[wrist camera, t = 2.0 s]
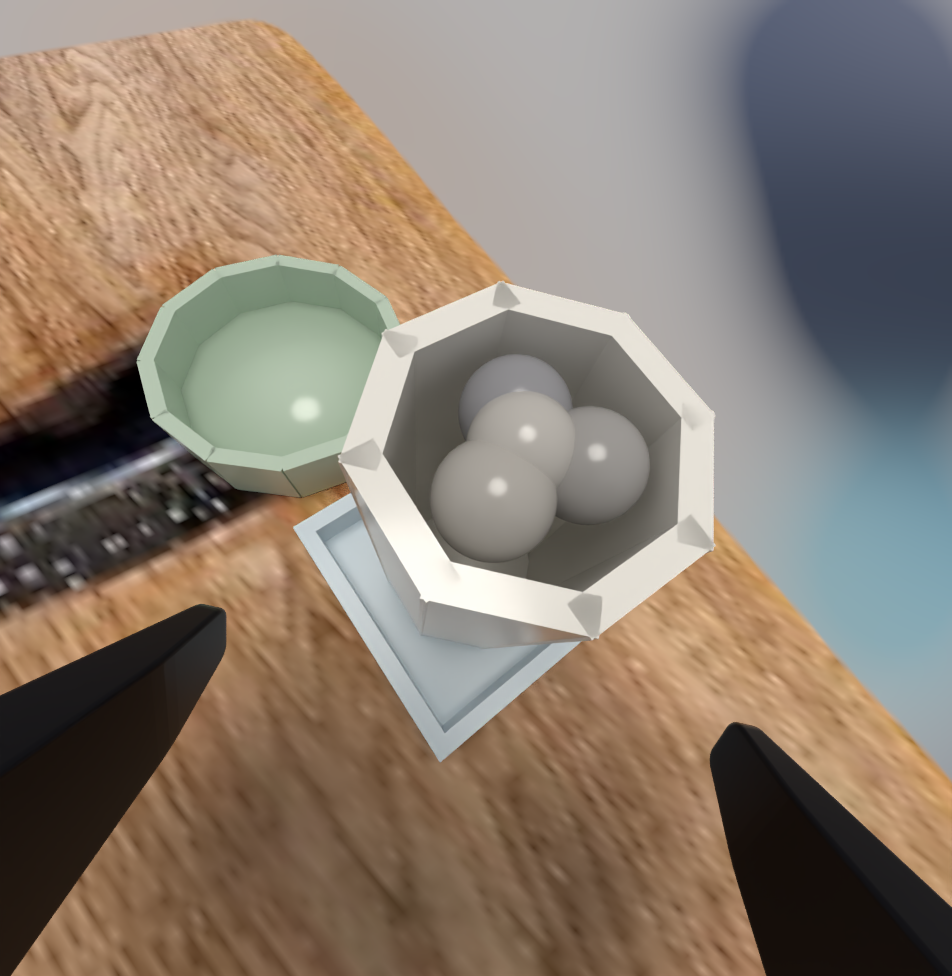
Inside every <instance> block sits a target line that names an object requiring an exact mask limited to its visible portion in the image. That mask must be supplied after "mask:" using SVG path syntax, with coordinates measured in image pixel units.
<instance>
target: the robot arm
mask: <svg viewBox="0 0 952 976" xmlns="http://www.w3.org/2000/svg"><path fill="white" fill-rule="evenodd" d="M225 649H226V612H225V610H224V609H222V608H219V607H214V606H210V605H205V604H199V605H195V606H193V607H191V608H189V609H186V610H184V611H182V612H180V613H178V614H176V615H173V616H171V617H169V618H167V619H165V620H163V621H160V622H158V623H156V624H154V625H152V626H150V627H147V628H145V629H143V630H141V631H139V632H137V633H134V634H132V635H130V636H128V637H126V638H124V639H121V640H119V641H117V642H115V643H113V644H111V645H108V646H106V647H104V648H102V649H100V650H98V651H95V652H93V653H91V654H89V655H87V656H85V657H82V658H80V659H78V660H76V661H74V662H72V663H69V664H67V665H65V666H63V667H61V668H59V669H56V670H54V671H52V672H50V673H48V674H46V675H44V676H41V677H39V678H37V679H35V680H33V681H31V682H28V683H26V684H24V685H22V686H20V687H18V688H15V689H13V690H11V691H9V692H7V693H5V694H2V695H0V976H11V975H12V973H13V972H14V970H15V969H16V967H17V966H18V965H19V963H20V962H21V960H22V959H23V958H24V956H25V955H26V953H27V952H28V950H29V949H30V948H31V946H32V945H33V943H34V942H35V940H36V939H37V938H38V936H39V935H40V933H41V932H42V931H43V929H44V928H45V926H46V925H47V923H48V922H49V921H50V919H51V918H52V916H53V915H54V913H55V912H56V911H57V909H58V908H59V906H60V905H61V904H62V902H63V901H64V899H65V898H66V896H67V895H68V894H69V892H70V891H71V889H72V888H73V886H74V885H75V884H76V882H77V881H78V879H79V878H80V877H81V875H82V874H83V872H84V871H85V869H86V868H87V867H88V865H89V864H90V862H91V861H92V859H93V858H94V857H95V855H96V854H97V852H98V851H99V850H100V848H101V847H102V845H103V844H104V842H105V841H106V840H107V838H108V837H109V835H110V834H111V833H112V831H113V830H114V828H115V827H116V825H117V824H118V823H119V821H120V820H121V818H122V817H123V815H124V814H125V813H126V811H127V810H128V808H129V807H130V806H131V804H132V803H133V801H134V800H135V798H136V797H137V796H138V794H139V793H140V791H141V790H142V788H143V787H144V786H145V784H146V783H147V781H148V780H149V779H150V777H151V776H152V774H153V773H154V771H155V770H156V769H157V767H158V766H159V764H160V763H161V761H162V760H163V758H164V757H165V755H166V754H167V752H168V751H169V749H170V748H171V746H172V745H173V743H174V741H175V740H176V738H177V736H178V735H179V733H180V731H181V729H182V728H183V726H184V724H185V722H186V721H187V719H188V717H189V715H190V714H191V712H192V710H193V708H194V707H195V705H196V703H197V701H198V700H199V698H200V696H201V694H202V693H203V691H204V689H205V687H206V686H207V684H208V682H209V680H210V679H211V677H212V675H213V673H214V672H215V670H216V668H217V666H218V665H219V663H220V661H221V659H222V657H223V655H224V652H225ZM710 767H711V772H712V777H713V781H714V786H715V790H716V795H717V799H718V804H719V808H720V813H721V817H722V822H723V827H724V831H725V836H726V840H727V845H728V849H729V853H730V857H731V861H732V865H733V869H734V872H735V876H736V879H737V883H738V886H739V889H740V892H741V896H742V899H743V902H744V905H745V909H746V912H747V915H748V918H749V922H750V925H751V928H752V931H753V935H754V938H755V941H756V944H757V948H758V951H759V954H760V957H761V961H762V964H763V967H764V970H765V973H766V976H952V907H951V906H950V905H949V904H948V903H946V902H945V901H944V900H943V899H942V898H941V897H940V896H939V895H938V894H937V893H936V892H935V891H934V890H933V889H931V888H930V887H929V886H928V885H927V884H926V883H925V882H924V881H923V880H922V879H921V878H920V877H919V876H917V875H916V874H915V873H914V872H913V871H912V870H911V869H910V868H909V867H908V866H907V865H906V864H905V863H903V862H902V861H901V860H900V859H899V858H898V857H897V856H896V855H895V854H894V853H893V852H892V851H891V850H890V849H888V848H887V847H886V846H885V845H884V844H883V843H882V842H881V841H880V840H879V839H878V838H877V837H876V836H874V835H873V834H872V833H871V832H870V831H869V830H868V829H867V828H866V827H865V826H864V825H863V824H862V823H860V822H859V821H858V820H857V819H856V818H855V817H854V816H853V815H852V814H851V813H850V812H849V811H848V810H847V809H845V808H844V807H843V806H842V805H841V804H840V803H839V802H838V801H837V800H836V799H835V798H834V797H833V796H831V795H830V794H829V793H828V792H827V791H826V790H825V789H824V788H823V787H822V786H821V785H820V784H819V783H817V782H816V781H815V780H814V779H813V778H812V777H811V776H810V775H809V774H808V773H807V772H806V771H805V770H804V769H802V768H801V767H800V766H799V765H798V764H797V763H796V762H795V761H794V760H793V759H792V758H791V757H790V756H788V755H787V754H786V753H785V752H784V751H783V750H782V749H781V748H780V747H779V746H778V745H777V744H776V743H775V742H773V741H772V740H771V739H770V738H769V737H768V736H767V735H766V734H765V733H764V732H763V731H762V730H760V729H759V728H757V727H755V726H752V725H747V724H743V723H738V722H733V723H731V724H729V725H728V726H727V728H726V729H725V731H724V732H723V734H722V735H721V737H720V738H719V740H718V741H717V743H716V744H715V746H714V747H713V749H712V750H711V754H710Z"/></svg>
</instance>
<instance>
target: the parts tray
mask: <svg viewBox="0 0 952 976" xmlns="http://www.w3.org/2000/svg"><path fill="white" fill-rule="evenodd" d="M293 528H294V530H295V532H296V533H297V535H298V536H299V538H300V540H301V541H302V543H303V544H304V546H305V548H306V549H307V551H308V552H309V554H310V556H311V557H312V559H313V560H314V562H315V564H316V565H317V567H318V568H319V570H320V572H321V573H322V575H323V576H324V578H325V580H326V581H327V583H328V584H329V586H330V588H331V589H332V591H333V592H334V594H335V596H336V597H337V599H338V600H339V602H340V604H341V605H342V607H343V608H344V610H345V612H346V613H347V615H348V616H349V618H350V620H351V621H352V623H353V624H354V626H355V627H356V629H357V631H358V632H359V634H360V635H361V637H362V639H363V640H364V642H365V643H366V645H367V647H368V648H369V650H370V651H371V653H372V655H373V656H374V658H375V659H376V661H377V663H378V664H379V666H380V667H381V669H382V671H383V672H384V674H385V675H386V677H387V679H388V680H389V682H390V683H391V685H392V687H393V688H394V690H395V691H396V693H397V695H398V696H399V698H400V699H401V701H402V703H403V704H404V706H405V707H406V709H407V711H408V712H409V714H410V715H411V717H412V719H413V720H414V722H415V723H416V725H417V727H418V728H419V730H420V731H421V733H422V735H423V736H424V738H425V739H426V741H427V743H428V744H429V746H430V747H431V749H432V751H433V752H434V754H435V755H436V757H437V759H438V760H439V762H441V761H442V760H444V759H445V758H446V757H447V756H448V755H449V754H451V753H452V752H453V751H454V750H455V749H456V748H458V747H459V746H460V745H461V744H462V743H463V742H465V741H466V740H467V739H468V738H469V737H470V736H472V735H473V734H474V733H475V732H476V731H477V730H479V729H480V728H481V727H482V726H483V725H484V724H486V723H487V722H488V721H489V720H490V719H491V718H493V717H494V716H495V715H496V714H497V713H498V712H500V711H501V710H502V709H503V708H504V707H505V706H507V705H508V704H509V703H510V702H511V701H512V700H514V699H515V698H516V697H517V696H518V695H519V694H521V693H522V692H523V691H524V690H525V689H526V688H528V687H529V686H530V685H531V684H532V683H533V682H535V681H536V680H537V679H538V678H539V677H540V676H542V675H543V674H544V673H545V672H546V671H547V670H549V669H550V668H551V667H552V666H553V665H554V664H556V663H557V662H558V661H559V660H560V659H561V658H563V657H564V656H565V655H566V654H567V653H568V652H570V651H571V650H572V649H573V648H574V647H575V646H577V645H578V644H579V643H580V642H581V641H578V642H565V643H552V644H540V645H527V646H514V647H502V648H489V649H481V648H479V647H474V646H470V645H465V644H461V643H456V642H452V641H447V640H443V639H438V638H434V637H429V636H425V635H422V636H421V635H420V634H419V631H418V630H417V628H416V626H415V624H414V623H413V621H412V619H411V618H410V616H409V614H408V612H407V611H406V609H405V607H404V606H403V604H402V602H401V601H400V599H399V597H398V595H397V594H396V592H395V590H394V589H393V587H392V585H391V583H390V582H388V580H387V578H386V575H385V573H384V570H383V568H382V566H381V563H380V561H379V558H378V556H377V554H376V551H375V549H374V547H373V544H372V542H371V539H370V537H369V535H368V532H367V530H366V528H365V525H364V523H363V520H362V518H361V516H360V513H359V511H358V508H357V506H356V504H355V501H354V499H353V497H352V494H351V493H350V494H348V495H346V496H345V497H343V498H341V499H339V500H338V501H336V502H334V503H333V504H331V505H329V506H328V507H326V508H324V509H323V510H321V511H319V512H318V513H316V514H314V515H313V516H311V517H309V518H307V519H306V520H304V521H302V522H301V523H299V524H297V525H296V526H294V527H293Z"/></svg>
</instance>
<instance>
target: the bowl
mask: <svg viewBox="0 0 952 976" xmlns="http://www.w3.org/2000/svg"><path fill="white" fill-rule="evenodd" d="M162 306H163V307H161V308H160V310H159V312H158V314H157V316H156V319H155V321H154V323H153V325H152V327H151V330H150V332H149V334H148V336H147V339H146V341H145V343H144V345H143V347H142V350H141V352H140V354H139V356H138V358H137V365H138V369H139V373H140V377H141V381H142V385H143V389H144V393H145V397H146V401H147V405H148V408H149V412H150V416H151V419H152V420H153V421H154V422H155V423H156V424H157V425H159V426H160V427H161V428H162V429H163V430H164V431H165V432H166V433H168V434H169V435H170V436H171V437H172V438H173V439H174V440H176V441H177V442H178V443H179V444H180V445H181V446H182V447H184V448H185V449H186V450H187V451H188V452H189V453H190V454H192V455H193V456H194V457H196V458H197V459H198V460H199V461H201V462H202V463H203V464H205V465H206V466H207V467H208V468H210V469H211V470H212V471H214V472H215V473H216V474H217V475H219V476H220V477H221V478H223V479H224V480H225V481H226V482H228V483H229V484H230V485H232V486H233V487H234V488H235V489H238V490H246V491H254V492H261V493H269V494H277V495H284V496H292V497H300V498H301V496H302V497H305V496H308V495H311V494H314V493H317V492H319V491H322V490H325V489H328V488H331V487H334V486H336V485H339V484H342V483H345V482H346V480H345V477H344V475H343V473H342V470H341V468H340V466H339V463H338V461H339V458H338V455H340V454H341V452H342V450H343V447H344V444H345V441H346V438H347V436H348V433H349V430H350V427H351V424H352V421H353V419H354V416H355V413H356V410H357V407H358V404H359V402H360V399H361V396H362V393H363V390H364V387H365V385H366V382H367V379H368V376H369V373H370V370H371V368H372V365H373V362H374V359H375V356H376V354H377V351H378V348H379V345H380V342H381V339H382V335H381V333H382V332H384V331H385V329H387V330H389V329H392V328H394V327H396V326H399V325H400V323H399V321H398V319H397V317H396V315H395V313H394V311H393V309H392V306H391V304H390V302H389V300H388V298H387V297H386V296H385V295H383V294H382V293H380V292H379V291H377V290H376V289H374V288H373V287H371V286H370V285H368V284H367V283H365V282H364V281H362V280H361V279H360V278H358V277H357V276H355V275H354V274H352V273H351V272H349V271H348V270H346V269H345V268H343V267H342V266H339V265H336V264H331V263H325V262H319V261H313V260H307V259H301V258H295V257H290V256H284V255H279V256H277V255H273V256H269V257H264V258H259V259H255V260H250V261H245V262H241V263H236V264H231V265H227V266H222V267H217V268H215V270H214V269H212V270H211V271H209V272H208V273H206V274H205V275H204V276H202V277H201V278H199V279H198V280H197V281H195V282H194V283H192V284H191V285H190V286H188V287H187V288H185V289H184V290H183V291H181V292H180V293H178V294H177V295H176V296H174V297H173V298H171V299H170V300H169V301H167V302H166V303H165V304H163V305H162Z"/></svg>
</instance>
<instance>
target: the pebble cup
mask: <svg viewBox="0 0 952 976" xmlns="http://www.w3.org/2000/svg"><path fill="white" fill-rule="evenodd" d="M381 335H382V339H381V342H380V345H379V348H378V351H377V354H376V356H375V359H374V362H373V365H372V368H371V370H370V373H369V376H368V379H367V382H366V385H365V387H364V390H363V393H362V396H361V399H360V402H359V404H358V407H357V410H356V413H355V416H354V419H353V421H352V424H351V427H350V430H349V433H348V436H347V438H346V441H345V444H344V447H343V450H342V452H341V454H340V455H338V458H339V461H338V463H339V466H340V468H341V470H342V473H343V475H344V477H345V480H346V482H347V485H348V487H349V489H350V492H351V494H352V497H353V499H354V501H355V504H356V506H357V508H358V511H359V513H360V516H361V518H362V520H363V523H364V525H365V528H366V530H367V532H368V535H369V537H370V539H371V542H372V544H373V547H374V549H375V551H376V554H377V556H378V558H379V561H380V563H381V566H382V568H383V570H384V573H385V575H386V578H387V580H388V582H390V583H391V585H392V587H393V589H394V590H395V592H396V594H397V595H398V597H399V599H400V601H401V602H402V604H403V606H404V607H405V609H406V611H407V612H408V614H409V616H410V618H411V619H412V621H413V623H414V624H415V626H416V628H417V630H418V631H419V634H420V635H421V636H422V635H425V636H429V637H434V638H438V639H443V640H447V641H452V642H456V643H461V644H465V645H470V646H474V647H479V648H481V649H489V648H502V647H514V646H527V645H540V644H552V643H565V642H578V641H590V640H593V639H599V635H600V634H601V633H602V632H603V631H605V630H606V629H607V628H609V627H610V626H611V625H613V624H614V623H615V622H617V621H618V620H619V619H620V618H622V617H623V616H624V615H626V614H627V613H628V612H630V611H631V610H632V609H633V608H635V607H636V606H637V605H639V604H640V603H641V602H643V601H644V600H645V599H647V598H648V597H649V596H650V595H652V594H653V593H654V592H656V591H657V590H658V589H660V588H661V587H662V586H663V585H665V584H666V583H667V582H669V581H670V580H671V579H673V578H674V577H675V576H677V575H678V574H679V573H680V572H682V571H683V570H684V569H686V568H687V567H688V566H690V565H691V564H692V563H693V562H695V561H696V560H697V559H699V558H700V557H701V556H703V555H704V554H706V553H708V552H711V551H713V547H714V546H716V545H715V544H714V543H713V519H714V508H713V506H714V418H715V417H716V416H715V414H714V411H711V410H710V409H709V408H708V406H707V405H706V404H705V403H704V402H703V401H702V400H701V398H700V397H699V396H698V395H697V394H696V393H695V392H694V390H693V389H692V388H691V387H690V386H689V385H688V384H687V382H686V381H685V380H684V379H683V378H682V377H681V376H680V374H679V373H678V372H677V371H676V370H675V369H674V368H673V366H672V365H671V364H670V363H669V362H668V361H667V359H666V358H665V357H664V356H663V355H662V354H661V353H660V352H659V350H658V349H657V348H656V347H655V346H654V345H653V343H652V342H651V341H650V340H649V339H648V338H647V337H646V335H645V334H644V333H643V332H642V331H641V330H640V329H639V327H638V326H637V325H636V324H635V323H634V322H633V321H632V319H631V318H630V315H628V314H626V312H624V313H620V312H616V311H613V310H609V309H605V308H600V307H597V306H593V305H589V304H585V303H581V302H577V301H573V300H570V299H566V298H562V297H558V296H554V295H550V294H546V293H542V292H538V291H534V290H530V289H527V288H523V287H519V286H515V285H511V284H507V283H505V282H504V281H502V282H499V281H498V283H497V284H495V285H493V286H490V287H488V288H486V289H483V290H481V291H479V292H476V293H474V294H472V295H469V296H467V297H464V298H462V299H460V300H457V301H455V302H453V303H450V304H448V305H446V306H443V307H441V308H439V309H436V310H434V311H432V312H429V313H427V314H425V315H422V316H420V317H418V318H415V319H413V320H411V321H408V322H406V323H404V324H401V325H399V326H396V327H394V328H392V329H389V330H387V329H385V331H384V332H382V333H381Z"/></svg>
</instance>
